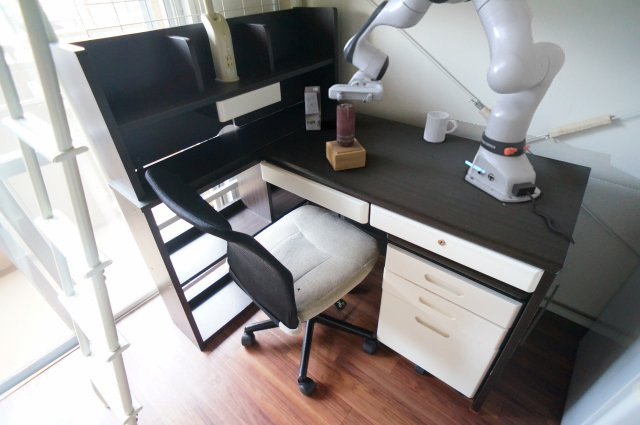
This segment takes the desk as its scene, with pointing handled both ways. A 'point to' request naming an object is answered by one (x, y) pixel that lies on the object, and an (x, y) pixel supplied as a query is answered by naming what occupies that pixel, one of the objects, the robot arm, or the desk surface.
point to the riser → (345, 155)
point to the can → (345, 124)
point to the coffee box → (313, 108)
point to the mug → (437, 126)
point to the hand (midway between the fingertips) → (352, 99)
